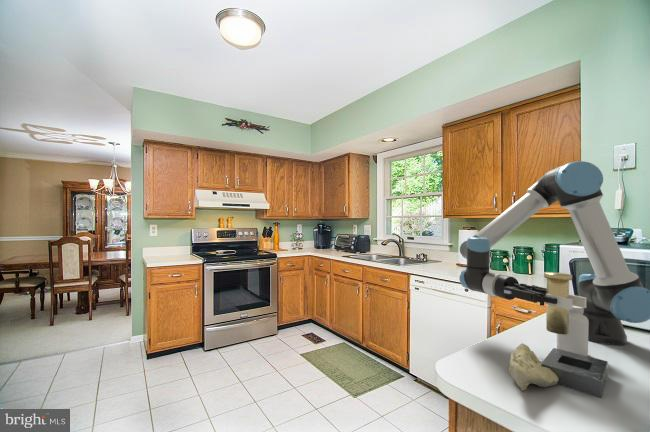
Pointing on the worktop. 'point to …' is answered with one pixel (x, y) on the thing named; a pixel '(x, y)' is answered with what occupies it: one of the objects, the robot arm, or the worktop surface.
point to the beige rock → (529, 369)
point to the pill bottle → (575, 333)
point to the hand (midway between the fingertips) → (578, 303)
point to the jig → (578, 371)
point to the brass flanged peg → (557, 315)
